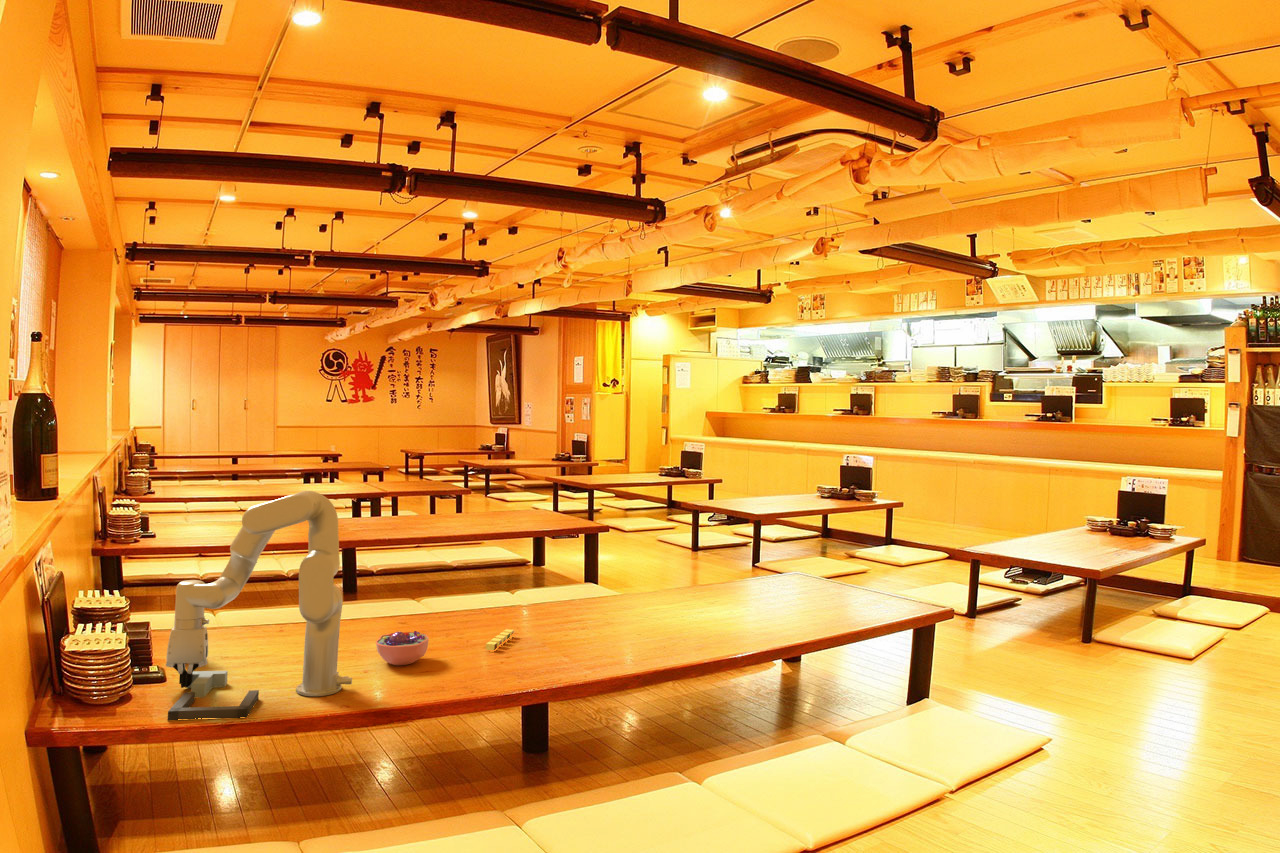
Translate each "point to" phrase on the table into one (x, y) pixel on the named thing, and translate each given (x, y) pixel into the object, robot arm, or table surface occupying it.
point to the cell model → (402, 647)
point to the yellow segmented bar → (499, 639)
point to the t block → (207, 681)
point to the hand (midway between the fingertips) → (185, 686)
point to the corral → (211, 708)
